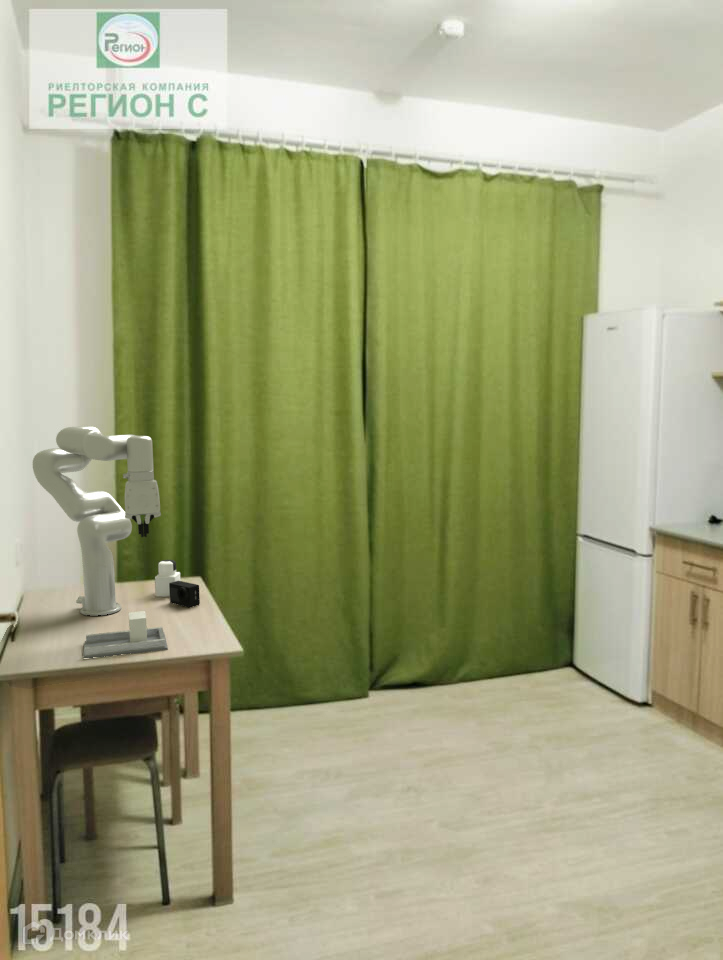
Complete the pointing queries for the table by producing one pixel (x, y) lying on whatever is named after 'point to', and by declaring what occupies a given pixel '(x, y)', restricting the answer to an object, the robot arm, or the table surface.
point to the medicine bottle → (165, 577)
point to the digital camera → (184, 593)
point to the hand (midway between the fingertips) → (143, 536)
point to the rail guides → (123, 646)
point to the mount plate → (120, 643)
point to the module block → (137, 626)
